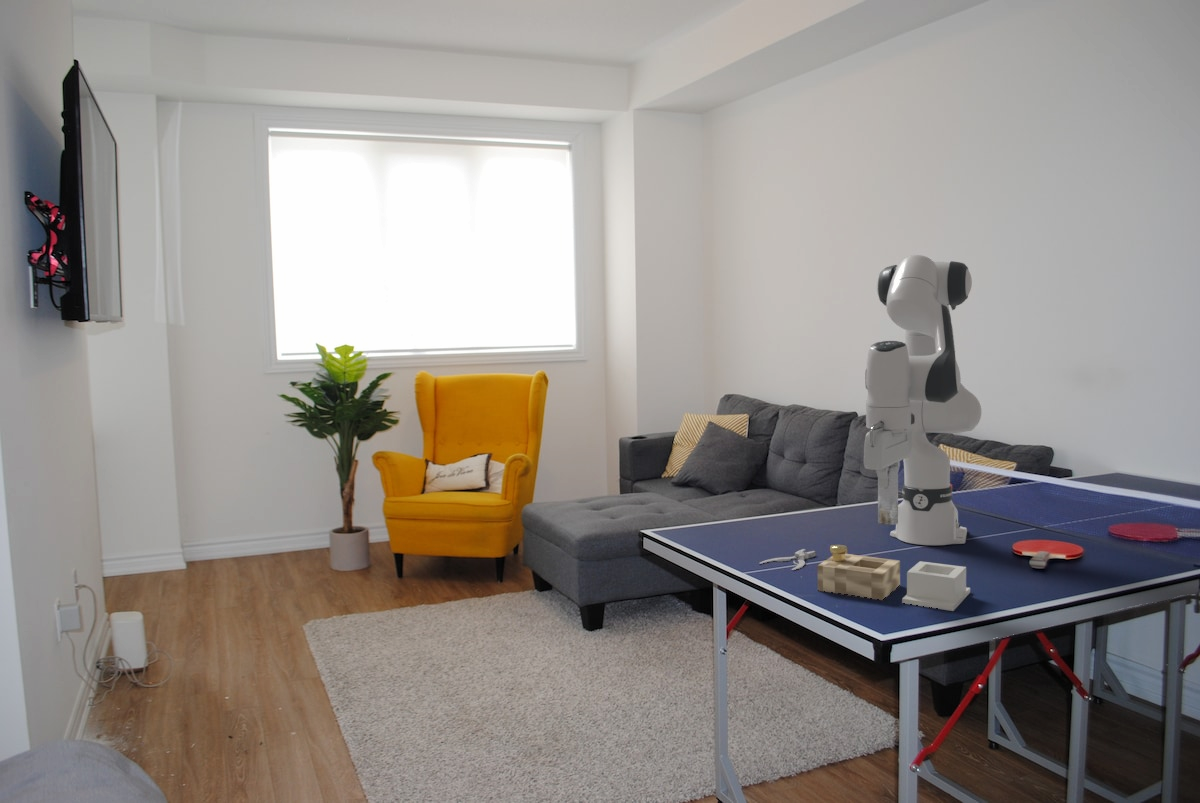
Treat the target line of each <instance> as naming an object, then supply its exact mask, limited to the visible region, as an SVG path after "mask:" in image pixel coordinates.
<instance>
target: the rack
mask: <svg viewBox="0 0 1200 803" xmlns="http://www.w3.org/2000/svg"><path fill="white" fill-rule="evenodd" d="M970 594H971V587H967V566H961V565H955V564H954V565H953V564H945V563H937V562H929V561H921V560H920V561H918V562H917V563H916V564H915V565H914V566H912V567H910V569H909V570H908V571H906V595H904V596H903V597H902V599H901V604H903V603H905V605H910V604H912V605H911V606H916V605H918V607H923V606H924V608H929V607H930V608H929V609H936V608H938V609H937V610H944V611H949V612H950V611H951V612H954V611H955V610H956V609H957V608H958V607H959V605H960V604H962V602H963V601H964V600H965V599H966V598H967V596H969V595H970ZM931 607H932V608H931Z"/></svg>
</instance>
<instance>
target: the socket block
mask: <svg viewBox="0 0 1200 803" xmlns="http://www.w3.org/2000/svg"><path fill="white" fill-rule="evenodd" d="M816 569H817V591H818V590H819V591H818V592H824V591H825V592H826V593H831V592H833V594H838V593H841V594H840V595H844V594H848V595H847V596H851V595H855V596H854V597H857V596H860V597H859V598H864V597H867V598H866V599H870V598H872V600H877V599H879V601H884V600H885V599H886V598H887V597H888V596H889V595H891V594H892V593H893V592H894V591H896V590H897V589H898V588H899V587H900V586H901V560H898V559H889V558H882V557H875V556H874V557H873V556H867V555H859V554H858V555H857V554H852V553H851V554H850V553H846V554H845V561H844V562H834V561H833V555H831V556H830V557H828V558H826V559H825V560H823V561H822V562H820V563H819V564H818V565H817V567H816ZM899 585H900V586H899ZM898 586H899V587H898ZM897 587H898V588H897ZM896 588H897V589H896ZM892 591H893V592H892ZM825 592H824V593H825ZM891 592H892V593H891ZM890 593H891V594H890ZM885 597H886V598H885ZM884 598H885V599H884ZM883 599H884V600H883Z"/></svg>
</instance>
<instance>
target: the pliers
mask: <svg viewBox="0 0 1200 803" xmlns="http://www.w3.org/2000/svg"><path fill="white" fill-rule="evenodd" d="M813 557H816V551H815V550H812V551H811V550H810V551H807V552H806V548H802V549H800V550H797V551H796V552H794V555H793V556H784V557H782V556H781V557H774V558H769V559H766V560H763V561H760V562H758V565H759V564H762V565H764V564H763V563H765V564H768V563H767V562H769V563H774V562H773V561H777V562H776V563H778V562H779V563H784V562H783V561H788V562H791V559H792V560H793V565H795V567H793V568H791V569H790V571H791V570H796V569H799V570H800V568H801V569H803V568H804V567H805V566H806V562H805V560H808V559H810V558H813ZM795 560H797V562H796V561H795ZM804 565H805V566H804ZM803 566H804V567H803ZM796 571H797V570H796Z"/></svg>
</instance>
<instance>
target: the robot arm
mask: <svg viewBox="0 0 1200 803" xmlns="http://www.w3.org/2000/svg"><path fill="white" fill-rule="evenodd" d="M878 275H879V276H878V278H877V281H876V292H877V295H878V299H879V301H880V302H881V303H882V305H883V306H885V307H886V313H887V315H888V317H889V318H890V320H891V321H892V322H893V323H894V324H896V325H897V326H898V327H899V328H900V329H903V330H905V335H904V336H905V342H902V341H897V340H883V341H878V342H875V343H873V344H871V345H870V346H869V349H868V354H867V358H866V359H867V361H866V369H865V373H864V374H865V389H866V390H867V394H868V395H867V400H866V403H865V420H866V421H865V424H866V425H865V427H866V428H867V429H869V431H867V433H866V434H865V438H864V444H863V445H864V447H863V465H864V469H866V470H872V471H873V470H875V473H876V475H877V480H878V479H879V487H884V488H886V487H888V486H889V478H888V473H887V471H888V466H890V465H895V466H898V472H899V471H900V467H901V461H903V472H904V473H903V474H904V479H903V480H904V483H903V485H902V489H901V490H902V491H901V493H902V499H903V500H902V501H901V502H900V503H898V524H895V529H894V530H891V531H890V533H889V536H890V537H893V538H896V539H898V540H899V541H902V542H905V543H907V544H913V545H920V546H921V545H922V546H946V545H962V544H966V541H967V535H968V529H967V527H964V526H961V524H960V522H959V512H958V508H957V507H956V505H955V504H954V503H953V501H952V500H953V484H951V483H950V482H951V460H950V457H949V455H948V454H947V453H946V452H945V450H943V449H941V448H940V447H938V446H936V445H934V444H933V443H932V442H930V441H929V439H928V438H927V434H926V433H929V434H930V433H931V434H932V433H933V434H934V433H935V434H936V433H937V434H957V433H958V434H959V433H966V432H972V431H973V430H974V429H975V428H976V427H977V425H978V424H979V423H980V421H981V418H982V405H981V403H980V400H979V399H978V397H976V395H975V394H973V393H972V392H971V391H970V390H968V389H967V388H966V387H965V386H964V385H963V384H962V383H961V382H962V381H961V371H960V367H959V364H958V362H957V358H956V349H955V339H954V331H953V330H954V329H953V324H952V318H951V313H950V308H951V310H952V311H954V310H956V308H957V307H958V306H959V305H962V304H963V303H965V301H966V300H967V299H968V298H969V294H970V292H971V290H972V285H973V284H972V283H973V280H972V276H971V272H970V271H969V267H968V265H966V264H965V263H964V262H958V261H952V260H951V261H950V262H947V261H946V262H945V261H934V260H932V259H931V258H930V257H928V256H925V255H922V254H921V255H920V254H913V255H910V256H907V257H905V258H904V259H902V260H901V261H900V263H899V264H898V265H897V264H893V265H890V266H886V267H885V268H884V269H882V270H881V271H880V273H879V274H878ZM949 306H950V307H949Z"/></svg>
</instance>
